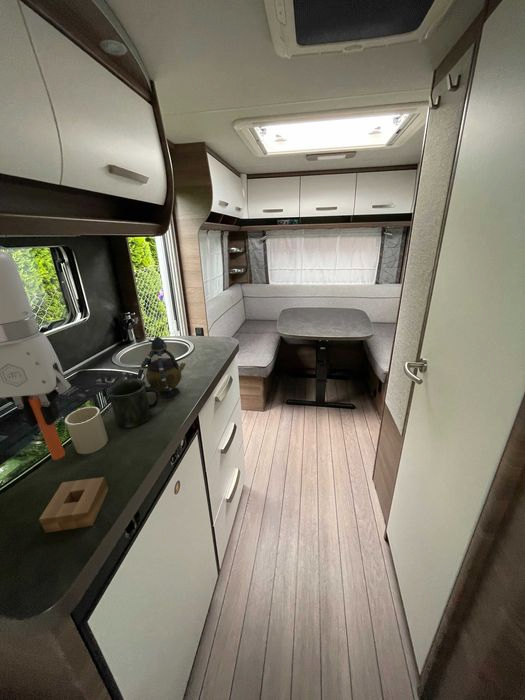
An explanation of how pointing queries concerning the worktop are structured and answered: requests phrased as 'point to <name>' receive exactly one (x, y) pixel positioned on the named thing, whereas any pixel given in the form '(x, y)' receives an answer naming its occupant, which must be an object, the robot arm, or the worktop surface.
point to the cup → (86, 430)
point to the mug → (131, 402)
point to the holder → (74, 505)
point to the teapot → (162, 371)
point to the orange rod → (47, 430)
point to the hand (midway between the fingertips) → (45, 420)
